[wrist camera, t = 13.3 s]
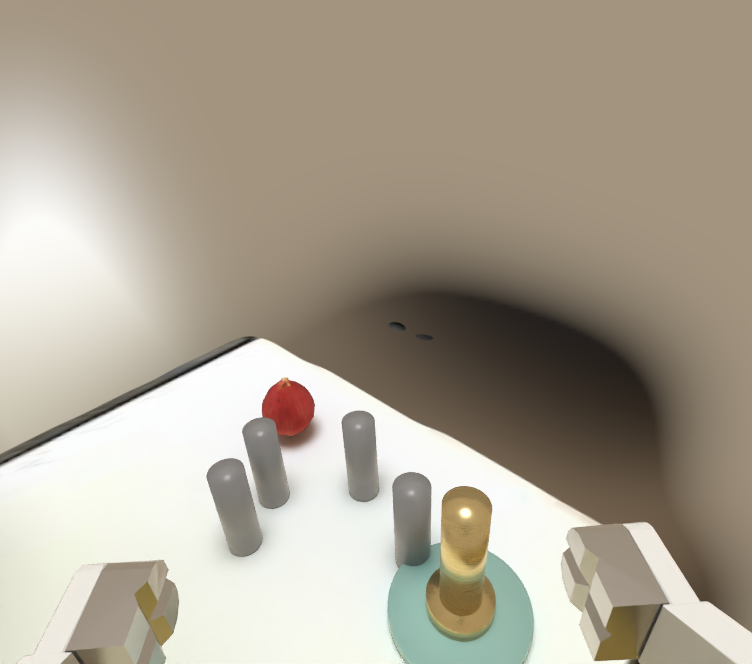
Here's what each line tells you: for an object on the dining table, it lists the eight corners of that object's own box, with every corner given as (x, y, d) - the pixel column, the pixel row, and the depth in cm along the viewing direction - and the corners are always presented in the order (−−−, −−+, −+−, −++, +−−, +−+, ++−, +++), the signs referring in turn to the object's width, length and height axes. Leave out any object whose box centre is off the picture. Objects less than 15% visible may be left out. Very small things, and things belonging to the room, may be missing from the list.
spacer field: (218, 590, 41) (192, 519, 36) (242, 486, 51) (223, 420, 46) (432, 573, 42) (434, 501, 37) (416, 474, 51) (416, 406, 46)
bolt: (431, 644, 36) (432, 544, 30) (421, 577, 40) (421, 477, 34) (502, 638, 36) (518, 537, 30) (484, 571, 40) (495, 472, 34)
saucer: (394, 700, 34) (393, 692, 33) (383, 555, 43) (383, 547, 43) (553, 687, 34) (555, 679, 33) (508, 546, 43) (509, 537, 43)
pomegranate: (257, 437, 57) (244, 381, 53) (294, 410, 61) (284, 356, 56) (291, 459, 54) (280, 401, 49) (328, 429, 57) (320, 374, 53)
